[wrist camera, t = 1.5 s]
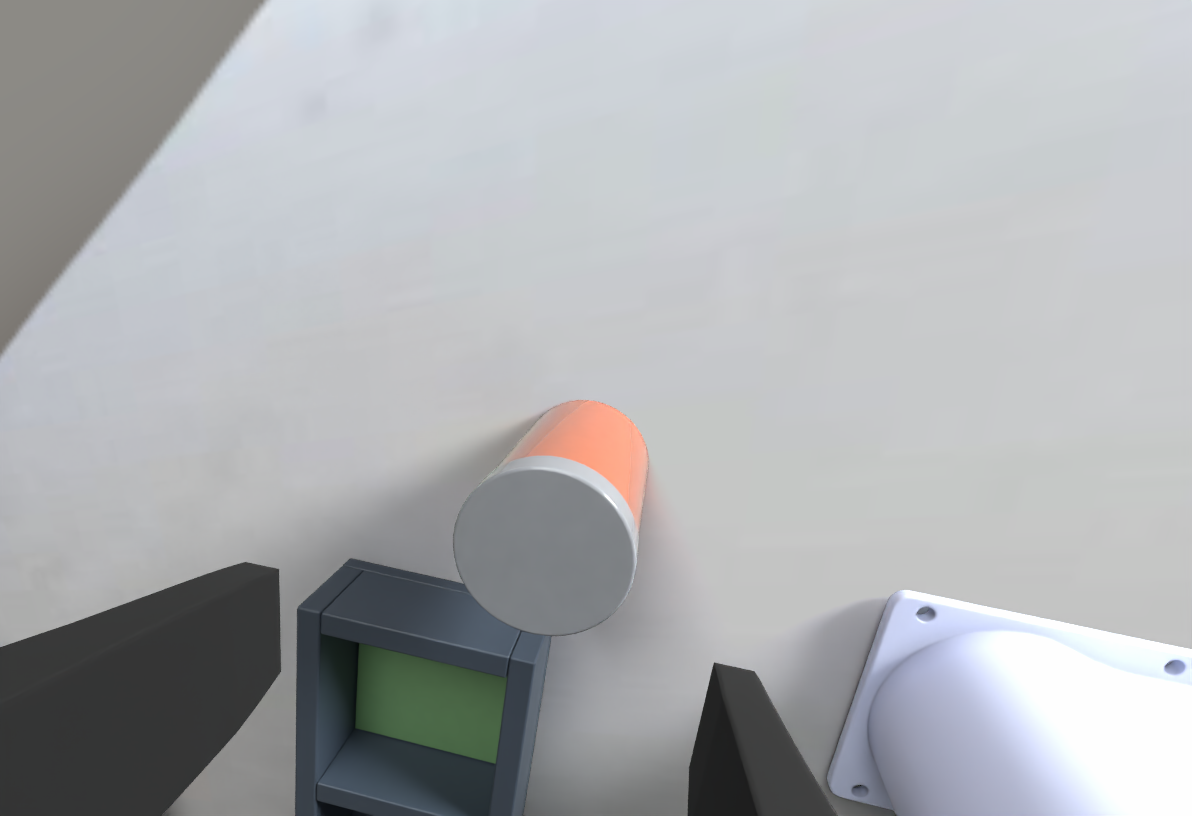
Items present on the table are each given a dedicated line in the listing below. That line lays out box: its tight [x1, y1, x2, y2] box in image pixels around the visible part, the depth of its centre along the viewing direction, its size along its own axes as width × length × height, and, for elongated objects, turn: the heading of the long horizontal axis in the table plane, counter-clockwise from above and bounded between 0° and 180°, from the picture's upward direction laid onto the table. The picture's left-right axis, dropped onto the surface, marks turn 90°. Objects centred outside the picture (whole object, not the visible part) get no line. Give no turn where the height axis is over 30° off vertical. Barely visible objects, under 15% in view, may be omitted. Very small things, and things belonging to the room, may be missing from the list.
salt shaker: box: [453, 400, 648, 636], centre depth 15 cm, size 4×4×6 cm
